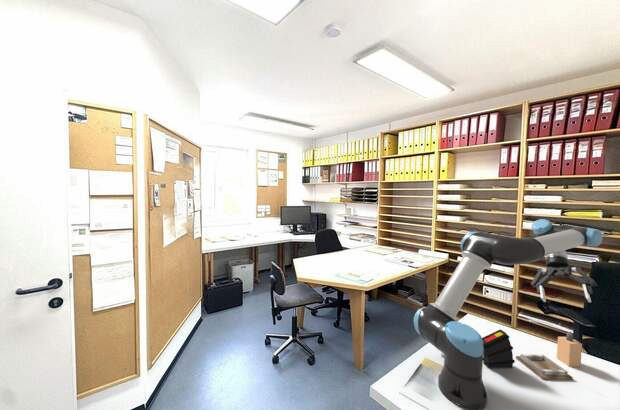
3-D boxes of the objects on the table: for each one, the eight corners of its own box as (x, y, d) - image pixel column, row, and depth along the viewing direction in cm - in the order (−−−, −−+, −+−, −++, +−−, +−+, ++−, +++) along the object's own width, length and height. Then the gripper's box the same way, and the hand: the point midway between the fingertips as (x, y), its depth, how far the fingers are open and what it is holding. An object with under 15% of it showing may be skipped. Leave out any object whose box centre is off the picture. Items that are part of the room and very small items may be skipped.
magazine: (521, 365, 99) (508, 333, 98) (493, 378, 99) (479, 347, 98) (513, 358, 103) (500, 328, 102) (486, 371, 103) (473, 341, 102)
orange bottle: (568, 366, 101) (570, 336, 101) (556, 358, 106) (558, 330, 106) (580, 366, 101) (582, 336, 101) (567, 358, 106) (569, 330, 106)
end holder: (541, 379, 94) (542, 373, 94) (515, 358, 106) (516, 352, 106) (572, 379, 94) (572, 373, 94) (543, 358, 106) (543, 353, 106)
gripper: (599, 262, 104) (614, 306, 91) (526, 267, 123) (530, 304, 110) (592, 251, 102) (606, 294, 89) (520, 258, 121) (523, 294, 108)
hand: (564, 300), depth 100 cm, fingers open, 13 cm apart
